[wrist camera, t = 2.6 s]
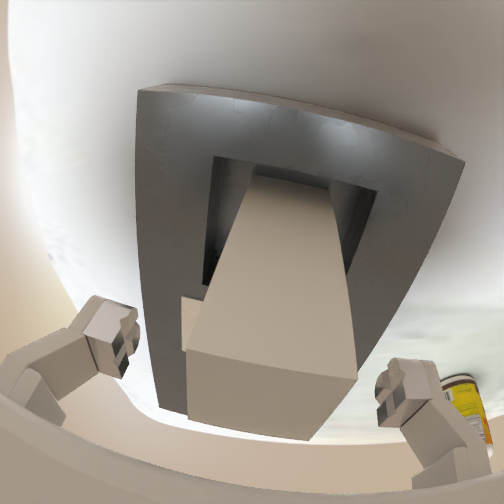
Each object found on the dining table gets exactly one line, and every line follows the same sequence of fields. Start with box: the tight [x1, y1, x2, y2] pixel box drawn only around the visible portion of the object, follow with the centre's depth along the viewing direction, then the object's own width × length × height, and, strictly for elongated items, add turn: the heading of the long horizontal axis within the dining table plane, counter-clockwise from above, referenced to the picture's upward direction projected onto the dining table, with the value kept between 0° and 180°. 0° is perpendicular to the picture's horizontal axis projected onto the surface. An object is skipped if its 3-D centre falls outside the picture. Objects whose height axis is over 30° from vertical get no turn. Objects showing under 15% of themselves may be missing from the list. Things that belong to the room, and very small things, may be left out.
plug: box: [186, 174, 358, 441], centre depth 11 cm, size 4×4×10 cm
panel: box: [135, 84, 466, 415], centre depth 18 cm, size 24×13×3 cm, turn 171°
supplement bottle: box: [441, 375, 494, 458], centre depth 19 cm, size 6×6×10 cm
